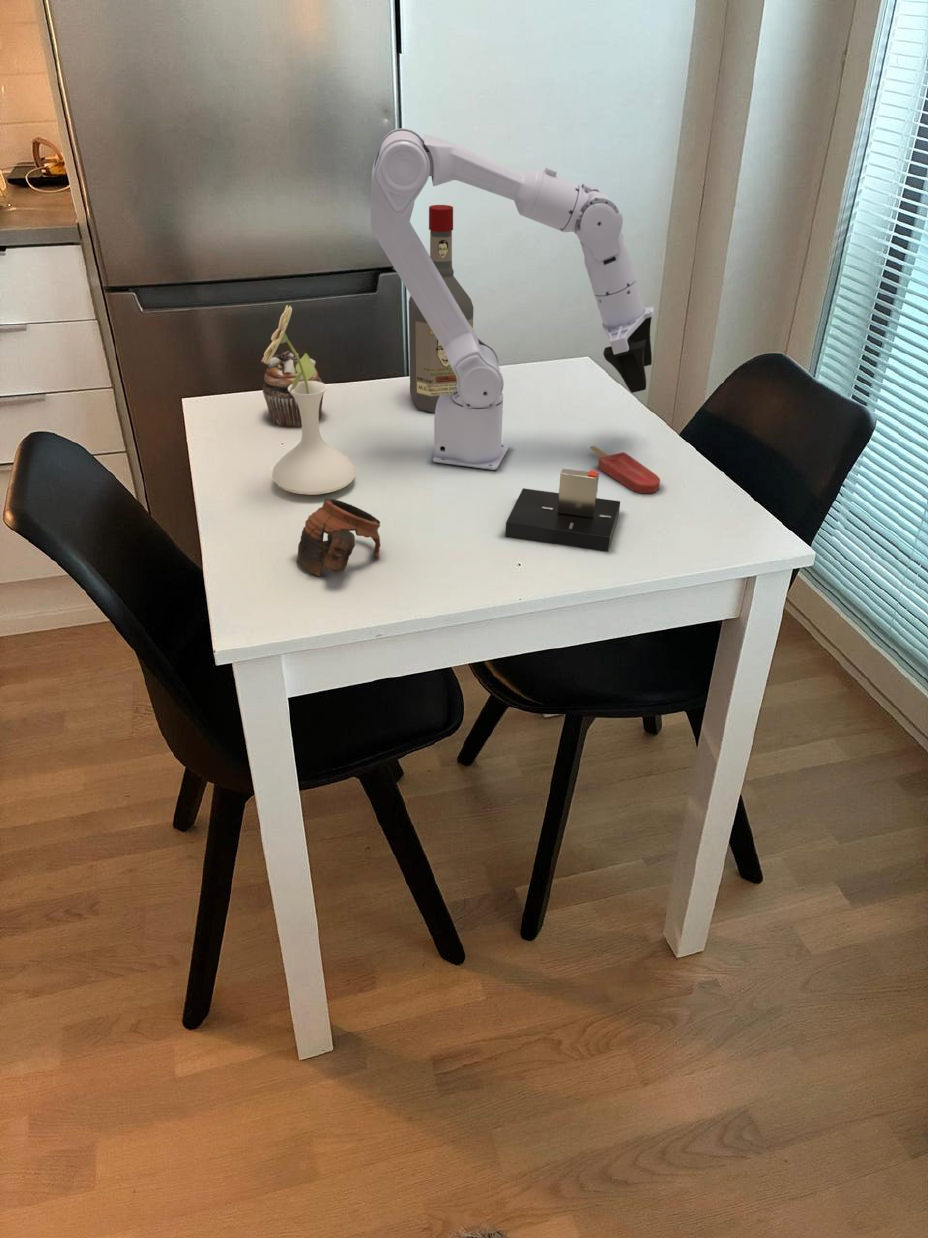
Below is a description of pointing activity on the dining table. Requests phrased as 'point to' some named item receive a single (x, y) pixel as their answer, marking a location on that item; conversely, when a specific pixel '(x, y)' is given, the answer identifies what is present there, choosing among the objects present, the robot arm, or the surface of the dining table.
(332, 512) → the pottery mug
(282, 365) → the cupcake
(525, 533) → the knob box
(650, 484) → the popsicle
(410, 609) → the dining table surface
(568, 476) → the knob
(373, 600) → the dining table surface
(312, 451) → the flower in vase
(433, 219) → the liquor
